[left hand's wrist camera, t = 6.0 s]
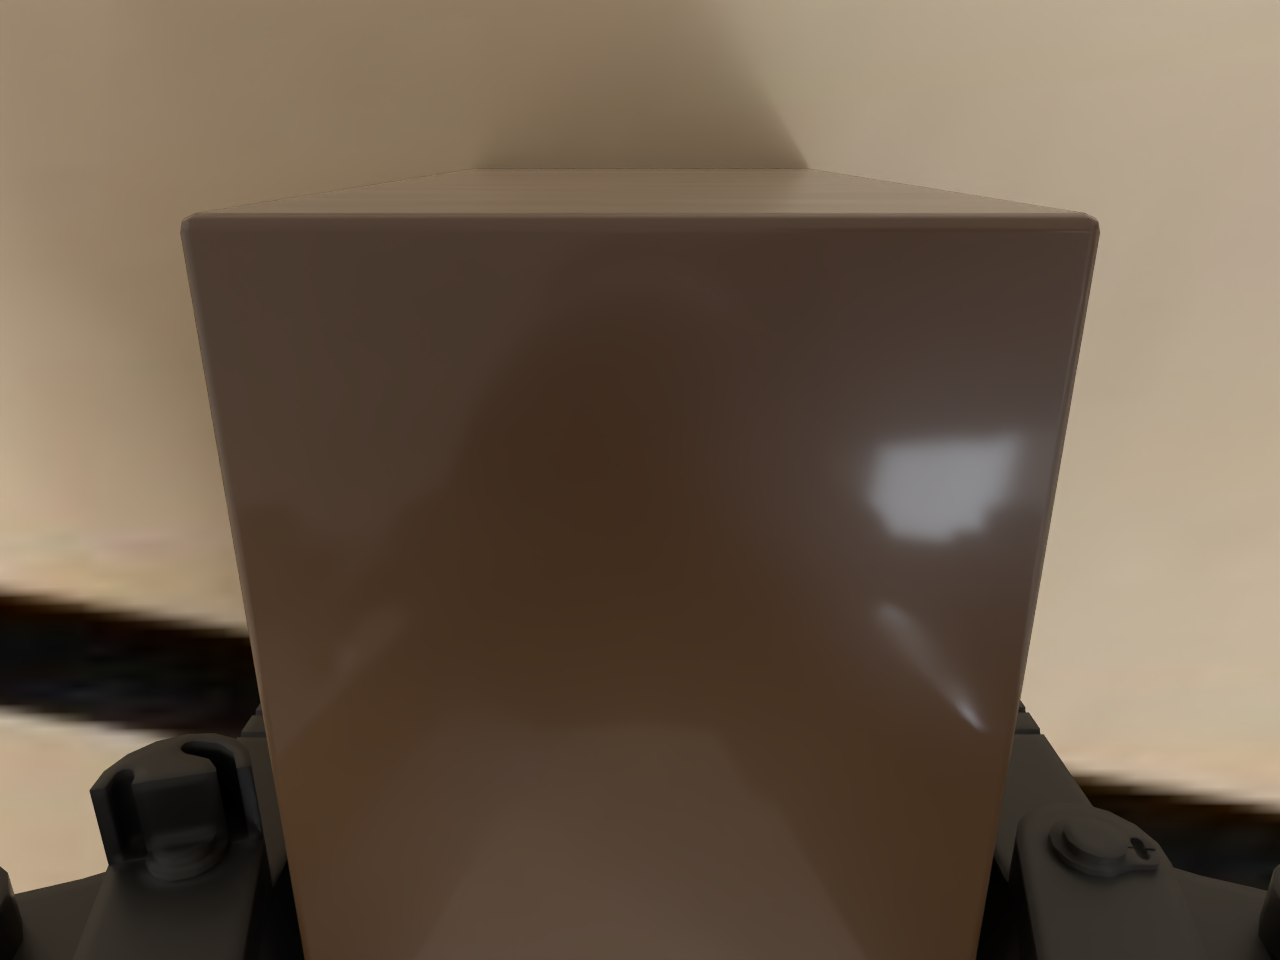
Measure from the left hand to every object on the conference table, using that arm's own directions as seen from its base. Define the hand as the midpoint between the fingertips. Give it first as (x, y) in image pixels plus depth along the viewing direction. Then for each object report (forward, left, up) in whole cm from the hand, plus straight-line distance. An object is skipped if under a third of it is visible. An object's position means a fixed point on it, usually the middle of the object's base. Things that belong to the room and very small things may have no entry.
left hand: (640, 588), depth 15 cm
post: (+21, +23, -1) cm, 31 cm away
